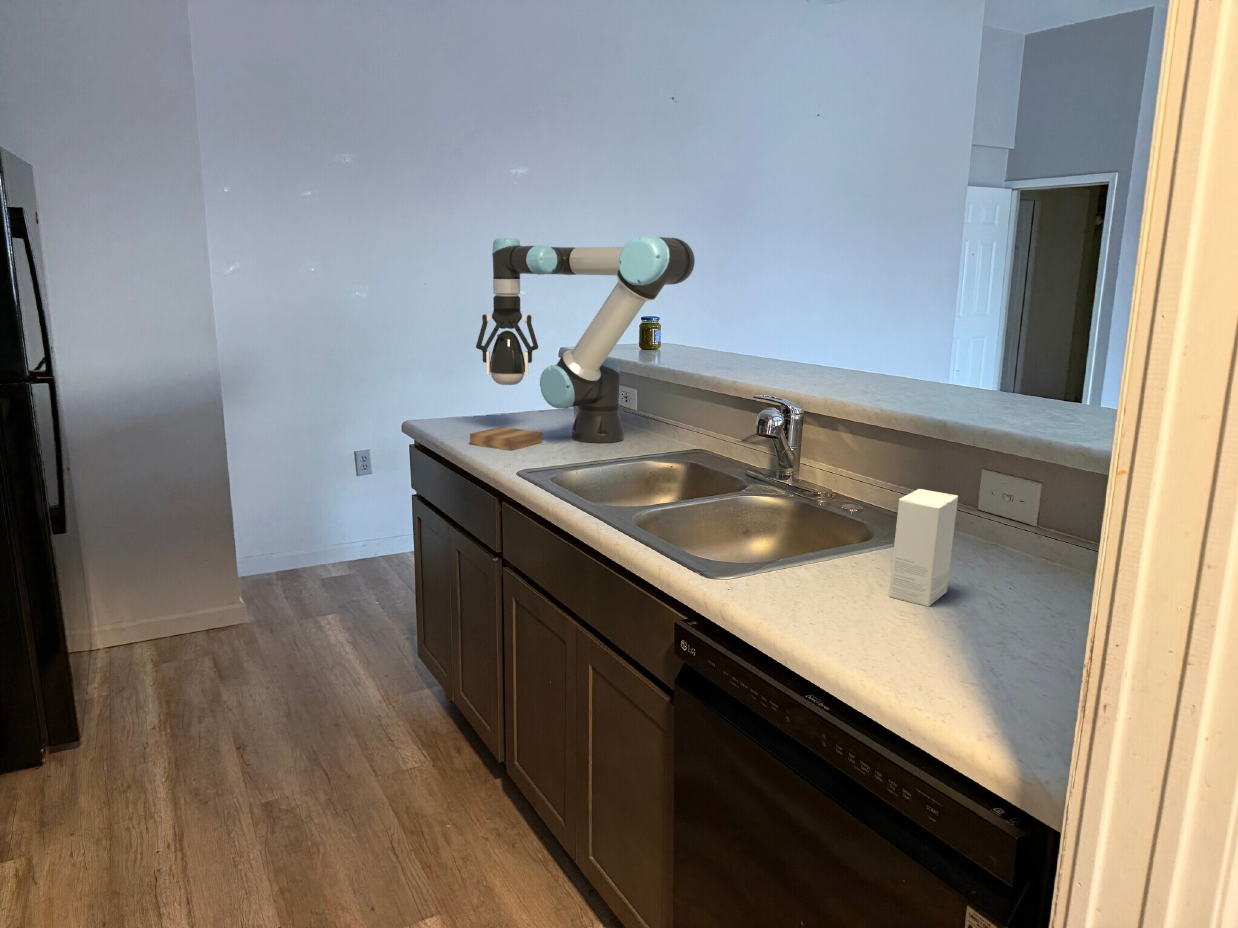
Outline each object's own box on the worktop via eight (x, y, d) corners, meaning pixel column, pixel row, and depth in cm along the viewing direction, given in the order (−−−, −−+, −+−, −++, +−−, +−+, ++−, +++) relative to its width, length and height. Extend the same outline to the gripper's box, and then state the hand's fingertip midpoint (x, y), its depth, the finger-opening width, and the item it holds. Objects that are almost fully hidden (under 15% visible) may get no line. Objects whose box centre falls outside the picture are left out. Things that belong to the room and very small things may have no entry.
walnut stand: (541, 442, 248) (542, 432, 247) (511, 450, 236) (511, 439, 235) (501, 437, 254) (501, 426, 254) (470, 444, 243) (470, 433, 242)
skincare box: (908, 583, 140) (917, 487, 137) (950, 593, 136) (961, 495, 133) (887, 597, 134) (896, 497, 131) (930, 608, 130) (941, 505, 127)
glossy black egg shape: (482, 384, 252) (482, 330, 249) (500, 381, 262) (500, 328, 258) (514, 387, 249) (514, 332, 245) (531, 383, 258) (531, 330, 255)
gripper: (547, 295, 254) (547, 373, 259) (467, 294, 253) (468, 372, 257) (547, 296, 247) (547, 376, 252) (464, 295, 246) (466, 375, 250)
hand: (507, 374), depth 254 cm, fingers closed on glossy black egg shape, 10 cm apart
